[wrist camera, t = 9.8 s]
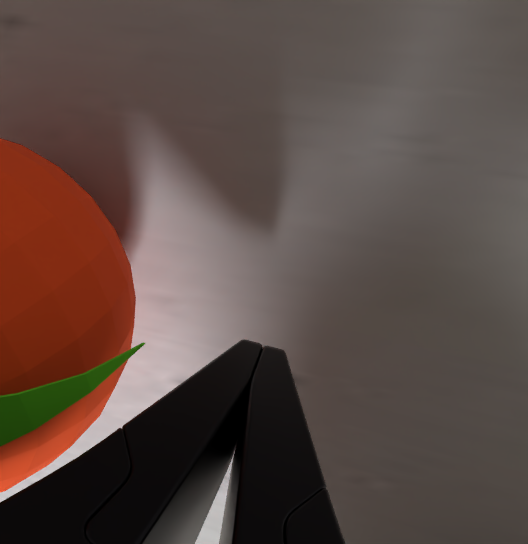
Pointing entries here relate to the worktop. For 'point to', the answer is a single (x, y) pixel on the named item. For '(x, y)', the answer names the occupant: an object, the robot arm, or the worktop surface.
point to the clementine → (55, 312)
